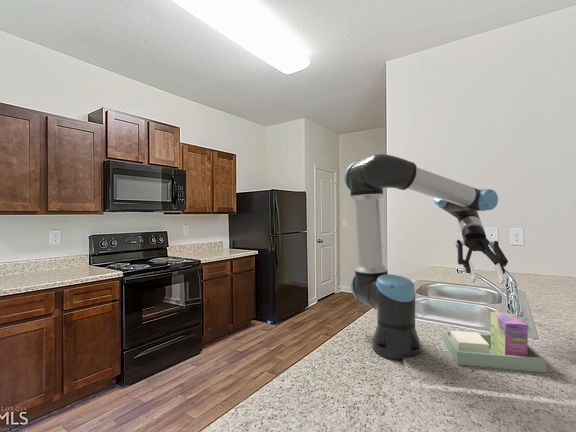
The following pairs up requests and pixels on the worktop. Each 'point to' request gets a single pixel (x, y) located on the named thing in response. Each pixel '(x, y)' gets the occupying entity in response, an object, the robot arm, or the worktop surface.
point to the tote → (496, 357)
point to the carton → (469, 342)
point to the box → (508, 334)
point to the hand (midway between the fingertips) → (488, 280)
